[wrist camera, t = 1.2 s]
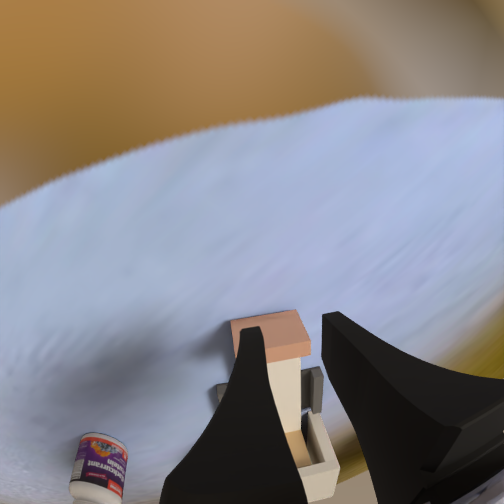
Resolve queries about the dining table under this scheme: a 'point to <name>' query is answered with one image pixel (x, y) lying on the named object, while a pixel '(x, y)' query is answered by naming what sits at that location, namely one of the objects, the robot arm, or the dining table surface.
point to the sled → (283, 370)
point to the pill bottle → (99, 470)
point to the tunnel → (319, 462)
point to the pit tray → (309, 389)
